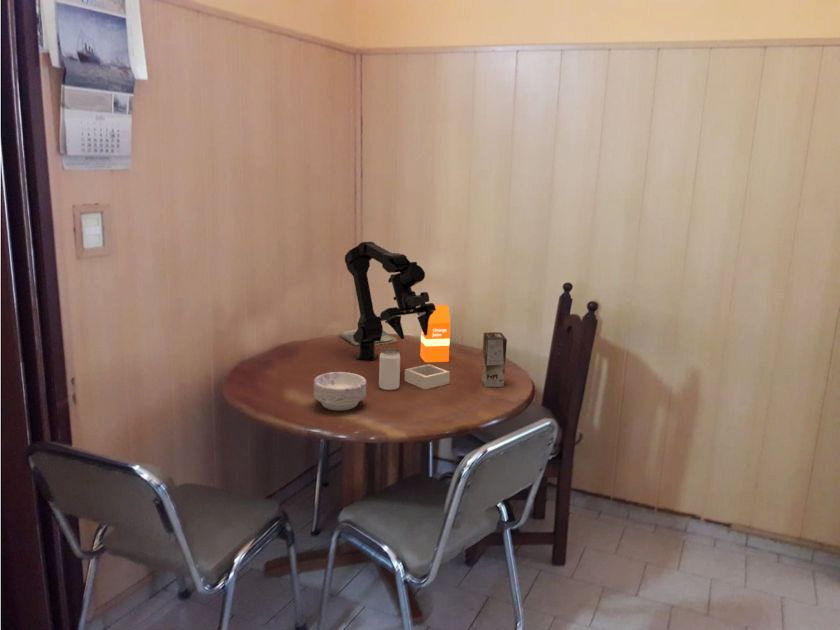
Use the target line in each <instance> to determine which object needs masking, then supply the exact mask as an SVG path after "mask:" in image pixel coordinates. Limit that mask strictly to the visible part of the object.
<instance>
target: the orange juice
mask: <svg viewBox="0 0 840 630" xmlns="http://www.w3.org/2000/svg"><path fill="white" fill-rule="evenodd" d="M434 305H435V304H434ZM435 308H436V311H434V312H433V314H431V316H430V318H429V322H428V332H427V335H426V336H425V335H424V333H423V331H422V328H421V327H420V329H421V330H420V356H419V357H420V358H421V359H422V360H423V361H424V363H445V362H449V359H450V358H449V357H450V342H451V340H450V339H451V338H450V337H451V318H450V311H449V305H448V304H442V305H440V304H439V305H437V304H436V305H435Z"/></svg>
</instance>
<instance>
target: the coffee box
mask: <svg viewBox="0 0 840 630" xmlns="http://www.w3.org/2000/svg"><path fill="white" fill-rule="evenodd" d="M482 335H483V338H482V356H481V374H480V379H481V382H482V383H483V385H484V387H486V388H497V387H498V388H504V386H505V385H504V384H505V374H506V359H507V358H506V356H507V346H508V345H507V343H508V341H507V338H506V337H505V335H504V334H503V333H502V332H494V331H491V332H483V334H482Z"/></svg>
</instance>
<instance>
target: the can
mask: <svg viewBox="0 0 840 630" xmlns="http://www.w3.org/2000/svg"><path fill="white" fill-rule="evenodd" d="M378 367H379V368H378V369H379V370H378V373H379V374H378V376H379V377H378V387H379V389H380V390H384V391H396V390H397V389H399V387H400V381H401V380H400V379H401V378H400V374H401V373H400V372H401V355H400V350H398V349H396V348H384V349H381V350H380V354H379V365H378Z"/></svg>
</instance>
